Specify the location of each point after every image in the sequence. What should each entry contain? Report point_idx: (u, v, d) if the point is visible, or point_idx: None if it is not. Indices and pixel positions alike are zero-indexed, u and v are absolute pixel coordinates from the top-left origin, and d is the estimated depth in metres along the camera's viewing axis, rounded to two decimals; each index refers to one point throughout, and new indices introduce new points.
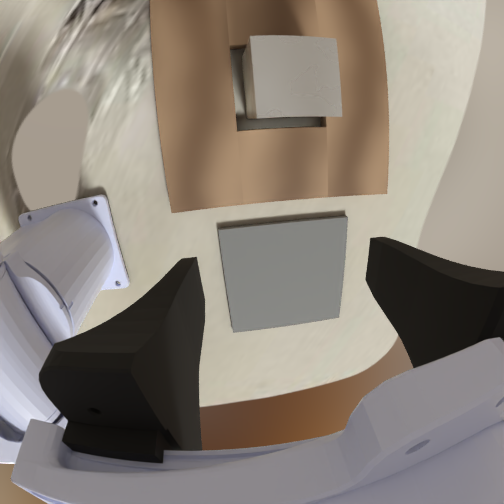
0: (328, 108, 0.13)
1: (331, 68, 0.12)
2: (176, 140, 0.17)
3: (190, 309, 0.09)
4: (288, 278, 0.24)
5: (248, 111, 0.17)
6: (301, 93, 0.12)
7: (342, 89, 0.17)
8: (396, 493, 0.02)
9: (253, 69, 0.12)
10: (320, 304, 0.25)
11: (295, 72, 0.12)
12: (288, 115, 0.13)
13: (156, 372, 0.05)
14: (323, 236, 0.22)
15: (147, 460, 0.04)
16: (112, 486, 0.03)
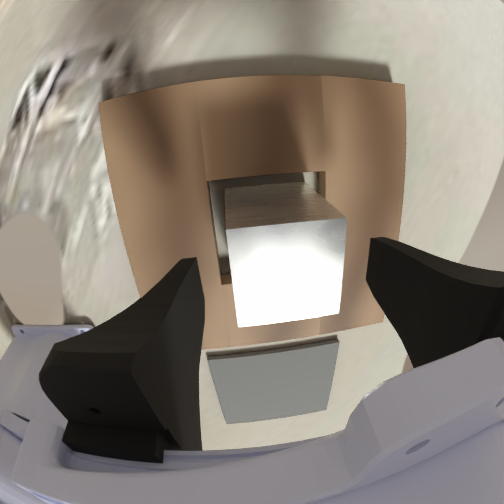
0: (323, 307, 0.12)
1: (333, 262, 0.11)
2: None
3: (190, 309, 0.09)
4: (277, 389, 0.23)
5: None
6: (292, 297, 0.12)
7: (347, 227, 0.16)
8: (396, 493, 0.02)
9: (232, 275, 0.11)
10: (308, 403, 0.24)
11: (285, 275, 0.11)
12: (275, 321, 0.12)
13: (156, 372, 0.05)
14: (313, 358, 0.21)
15: (147, 460, 0.04)
16: (112, 486, 0.03)
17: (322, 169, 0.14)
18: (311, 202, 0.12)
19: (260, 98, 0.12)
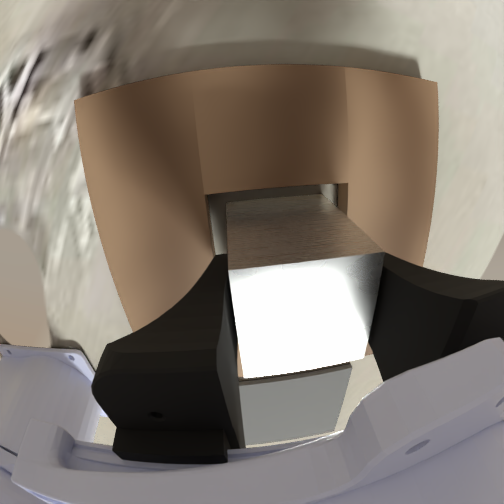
0: (346, 354, 0.09)
1: (363, 304, 0.08)
2: (147, 321, 0.14)
3: (231, 305, 0.09)
4: (283, 415, 0.20)
5: None
6: (310, 345, 0.09)
7: None
8: (396, 493, 0.02)
9: (237, 323, 0.08)
10: (315, 426, 0.22)
11: (304, 322, 0.08)
12: (288, 371, 0.09)
13: (225, 368, 0.05)
14: (323, 385, 0.19)
15: (147, 460, 0.04)
16: (112, 486, 0.03)
17: (344, 180, 0.12)
18: (336, 226, 0.10)
19: (271, 93, 0.10)
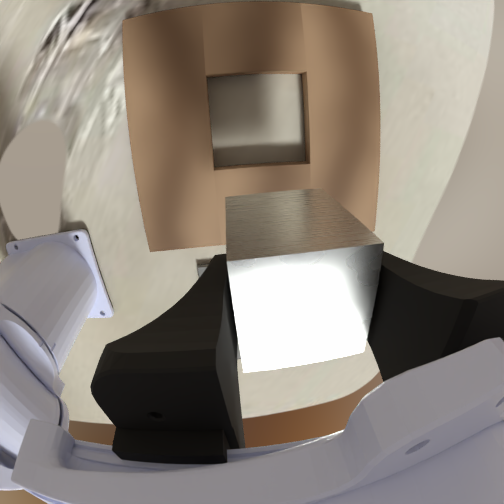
0: (346, 347, 0.09)
1: (363, 296, 0.08)
2: (151, 179, 0.17)
3: (231, 305, 0.09)
4: None
5: None
6: (310, 338, 0.09)
7: (329, 121, 0.16)
8: (396, 493, 0.02)
9: (236, 316, 0.08)
10: None
11: (303, 315, 0.08)
12: (288, 365, 0.09)
13: (224, 369, 0.05)
14: None
15: (147, 460, 0.04)
16: (112, 486, 0.03)
17: (303, 70, 0.15)
18: (335, 218, 0.09)
19: (252, 16, 0.13)
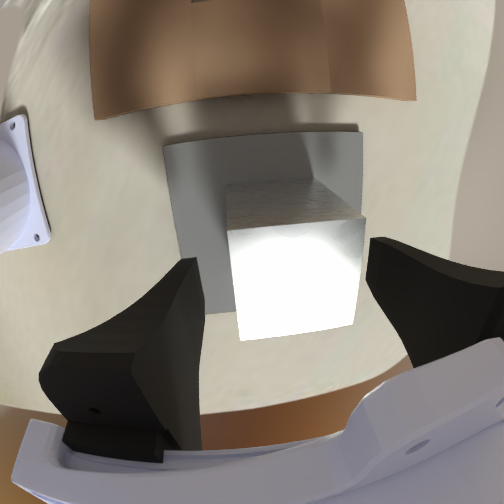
0: (336, 318, 0.11)
1: (349, 268, 0.10)
2: (108, 23, 0.09)
3: (190, 309, 0.09)
4: None
5: None
6: (301, 307, 0.10)
7: None
8: (396, 493, 0.02)
9: (234, 282, 0.09)
10: None
11: (295, 283, 0.10)
12: (281, 334, 0.11)
13: (156, 372, 0.05)
14: (327, 158, 0.14)
15: (147, 460, 0.04)
16: (112, 486, 0.03)
17: None
18: (324, 200, 0.11)
19: None
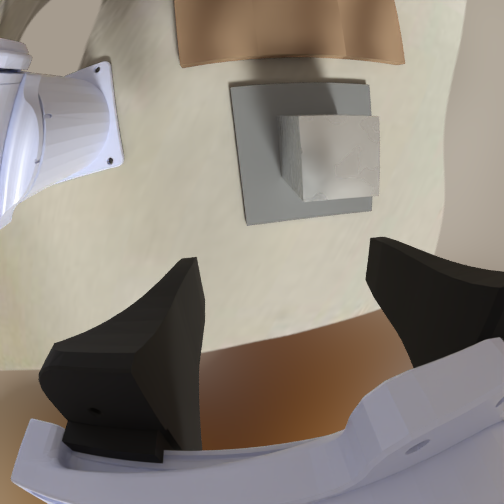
0: (367, 189, 0.14)
1: (372, 149, 0.14)
2: (190, 0, 0.13)
3: (190, 309, 0.09)
4: None
5: (286, 176, 0.18)
6: (344, 176, 0.14)
7: None
8: (396, 493, 0.02)
9: (301, 153, 0.13)
10: None
11: (340, 155, 0.14)
12: (332, 198, 0.15)
13: (156, 372, 0.05)
14: (346, 101, 0.18)
15: (147, 460, 0.04)
16: (112, 486, 0.03)
17: None
18: None
19: None
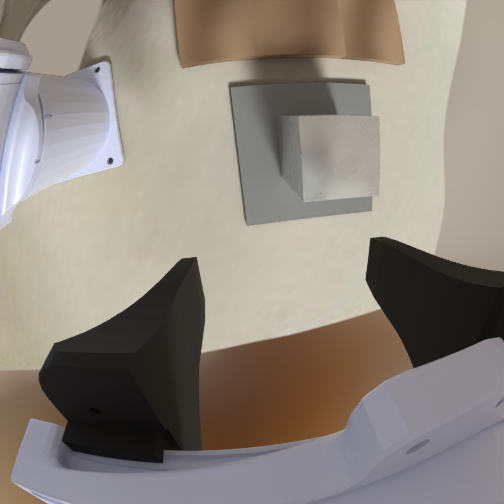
0: (367, 189, 0.14)
1: (372, 149, 0.14)
2: (190, 0, 0.13)
3: (190, 309, 0.09)
4: None
5: (286, 176, 0.18)
6: (344, 176, 0.14)
7: None
8: (396, 493, 0.02)
9: (301, 153, 0.13)
10: None
11: (340, 155, 0.14)
12: (332, 198, 0.15)
13: (156, 372, 0.05)
14: (346, 101, 0.18)
15: (147, 460, 0.04)
16: (112, 486, 0.03)
17: None
18: None
19: None
